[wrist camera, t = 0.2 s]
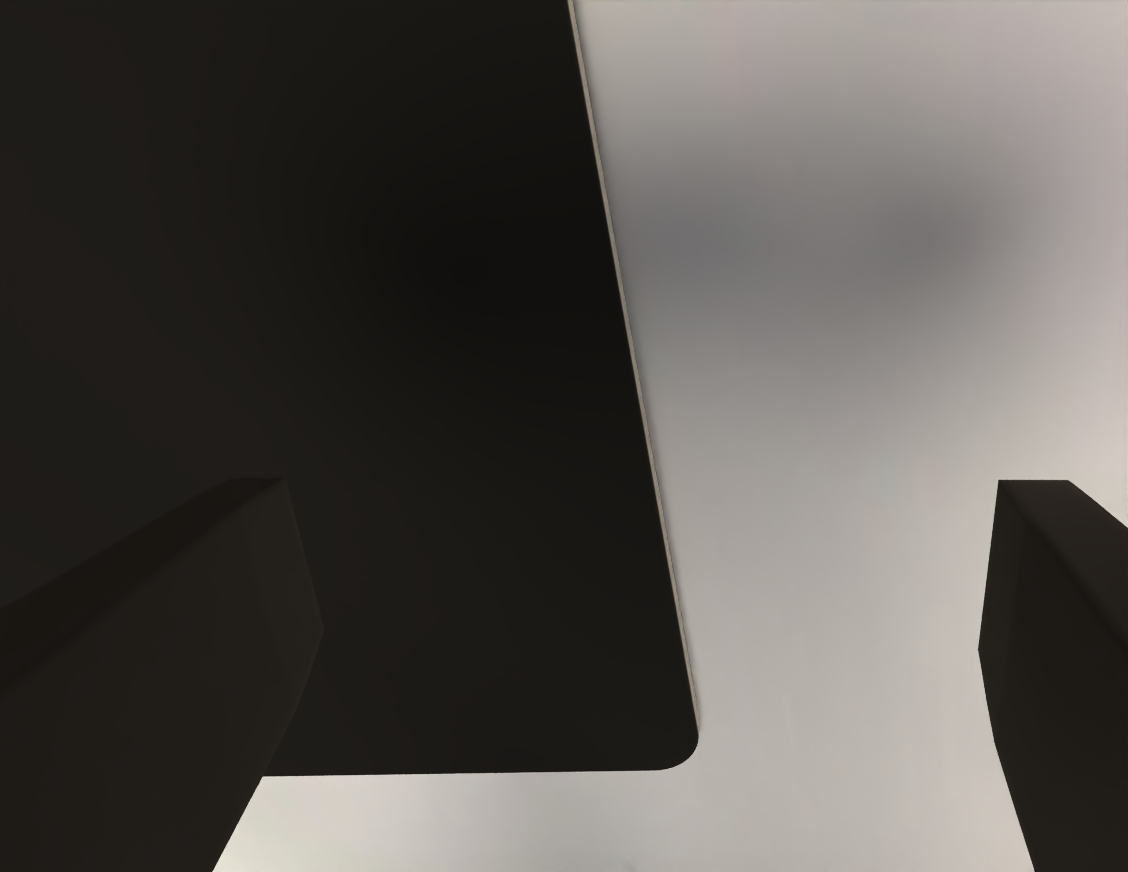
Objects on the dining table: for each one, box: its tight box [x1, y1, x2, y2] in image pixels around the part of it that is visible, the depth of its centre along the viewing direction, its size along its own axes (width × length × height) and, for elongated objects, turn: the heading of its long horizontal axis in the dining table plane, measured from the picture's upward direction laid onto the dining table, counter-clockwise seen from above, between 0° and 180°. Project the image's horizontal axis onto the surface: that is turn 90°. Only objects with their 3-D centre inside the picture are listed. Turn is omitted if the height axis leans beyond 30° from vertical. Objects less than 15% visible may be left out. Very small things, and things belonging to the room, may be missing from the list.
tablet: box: [0, 0, 699, 776], centre depth 21 cm, size 27×1×20 cm
